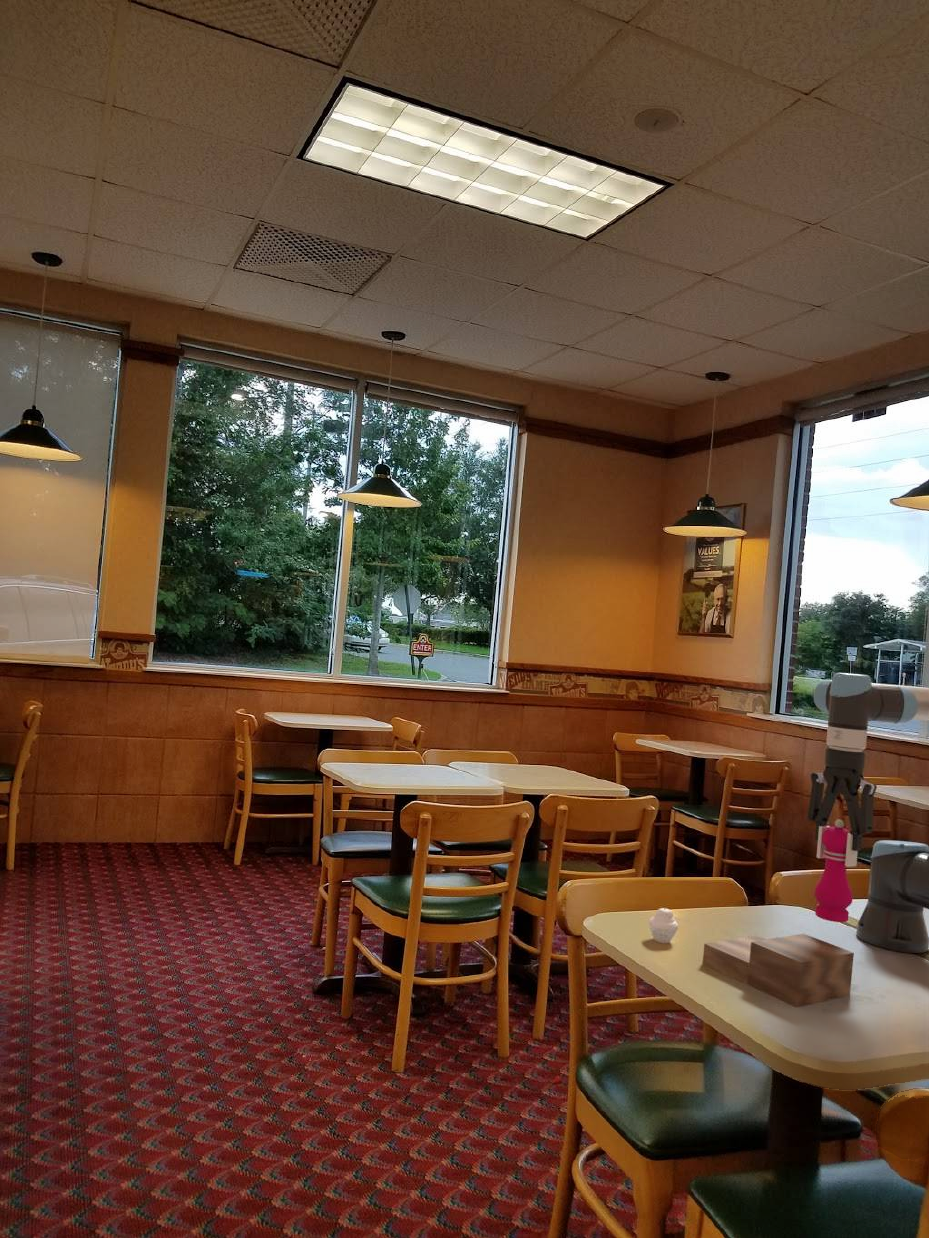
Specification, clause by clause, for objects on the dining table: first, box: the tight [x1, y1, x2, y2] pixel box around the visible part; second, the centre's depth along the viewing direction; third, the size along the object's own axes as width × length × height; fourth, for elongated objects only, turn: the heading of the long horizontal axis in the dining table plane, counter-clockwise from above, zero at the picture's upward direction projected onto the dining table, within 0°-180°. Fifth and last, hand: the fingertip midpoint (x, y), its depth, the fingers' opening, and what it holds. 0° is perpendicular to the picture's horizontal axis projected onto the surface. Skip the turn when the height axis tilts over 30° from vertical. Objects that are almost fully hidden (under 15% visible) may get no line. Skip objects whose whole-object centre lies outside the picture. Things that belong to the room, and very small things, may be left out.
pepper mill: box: [813, 819, 853, 923], centre depth 187 cm, size 7×7×20 cm
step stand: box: [702, 933, 855, 1008], centre depth 178 cm, size 16×22×8 cm
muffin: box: [648, 907, 679, 944], centre depth 195 cm, size 6×6×7 cm
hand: (836, 861), depth 187 cm, fingers closed on pepper mill, 6 cm apart
